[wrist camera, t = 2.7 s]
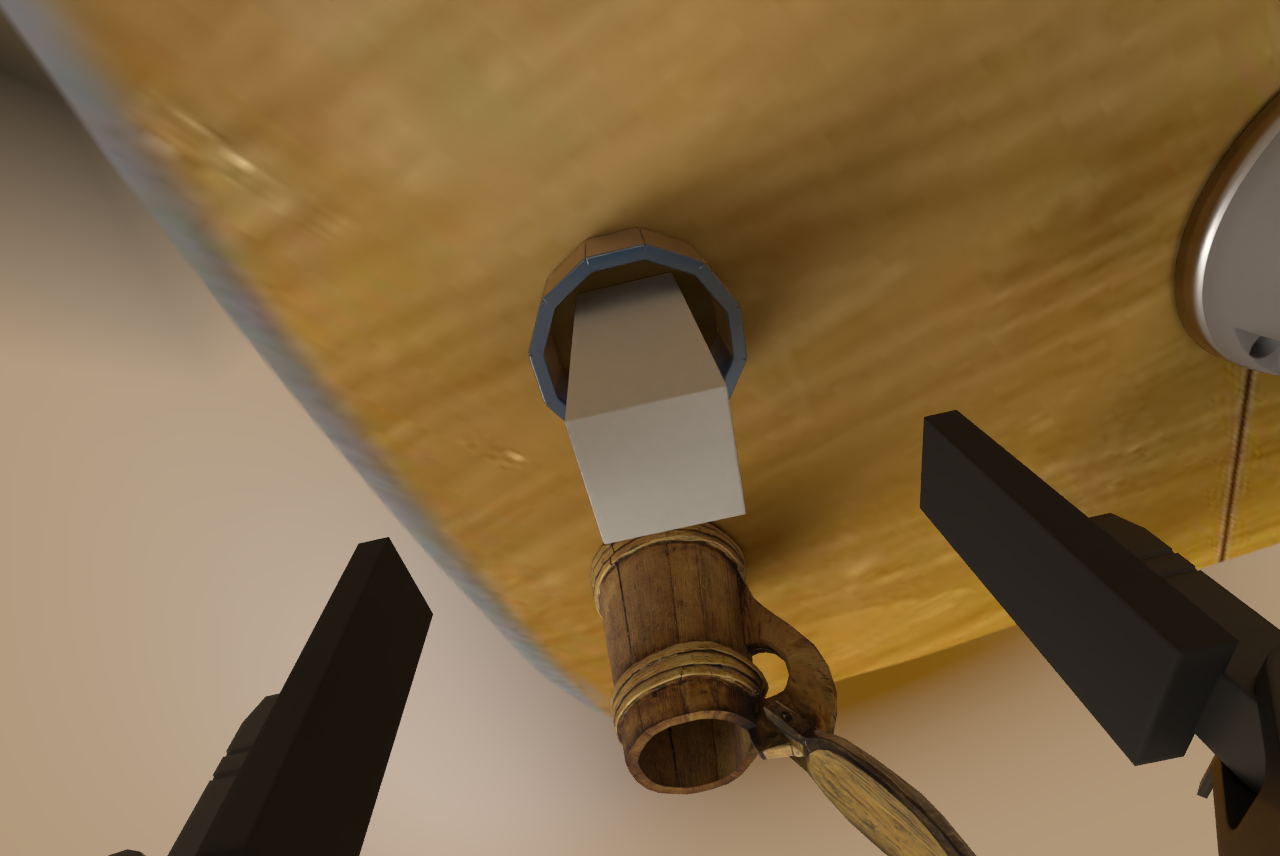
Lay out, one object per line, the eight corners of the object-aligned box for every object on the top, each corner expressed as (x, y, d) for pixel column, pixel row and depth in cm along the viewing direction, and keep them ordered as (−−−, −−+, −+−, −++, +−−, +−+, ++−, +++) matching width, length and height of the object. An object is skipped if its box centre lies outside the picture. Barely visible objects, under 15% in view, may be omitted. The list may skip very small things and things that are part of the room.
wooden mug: (823, 583, 35) (1005, 957, 20) (618, 640, 37) (638, 1035, 21) (800, 471, 31) (1010, 836, 15) (569, 540, 32) (547, 945, 17)
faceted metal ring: (712, 208, 24) (730, 223, 21) (738, 390, 28) (756, 424, 25) (513, 256, 24) (501, 277, 21) (568, 428, 29) (565, 466, 26)
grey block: (671, 271, 25) (726, 385, 15) (688, 360, 27) (746, 514, 17) (576, 294, 25) (564, 421, 15) (600, 380, 28) (604, 545, 17)
